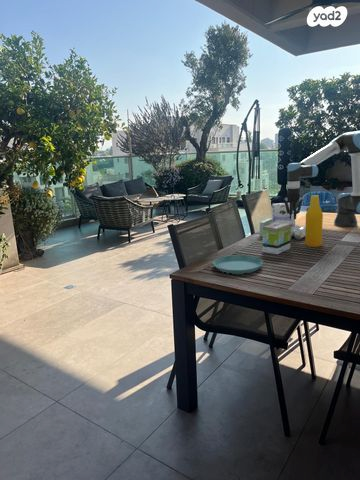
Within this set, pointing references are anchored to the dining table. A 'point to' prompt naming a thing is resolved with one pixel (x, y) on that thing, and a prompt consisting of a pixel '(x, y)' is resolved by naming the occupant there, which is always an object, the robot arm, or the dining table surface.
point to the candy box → (280, 212)
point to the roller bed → (298, 232)
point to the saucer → (238, 264)
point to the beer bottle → (314, 223)
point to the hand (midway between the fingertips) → (292, 224)
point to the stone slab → (283, 222)
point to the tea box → (276, 238)
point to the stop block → (265, 224)
